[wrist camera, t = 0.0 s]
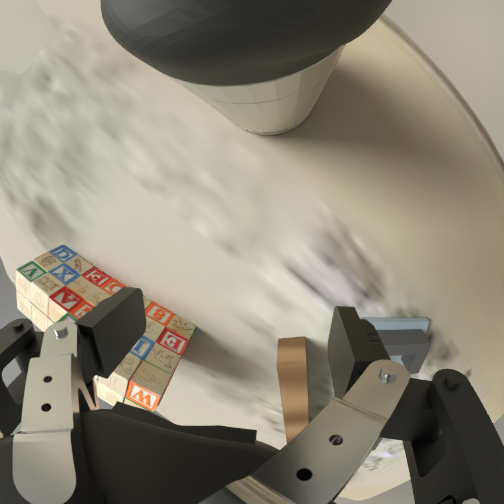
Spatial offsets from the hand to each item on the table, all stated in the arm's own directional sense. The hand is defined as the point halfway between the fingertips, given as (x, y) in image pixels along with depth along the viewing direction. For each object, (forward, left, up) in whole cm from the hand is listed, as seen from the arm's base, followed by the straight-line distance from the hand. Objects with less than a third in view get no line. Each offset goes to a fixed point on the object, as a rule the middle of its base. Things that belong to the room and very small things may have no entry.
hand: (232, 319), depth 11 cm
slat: (+22, +5, -18) cm, 28 cm away
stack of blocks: (+11, -18, -18) cm, 27 cm away
